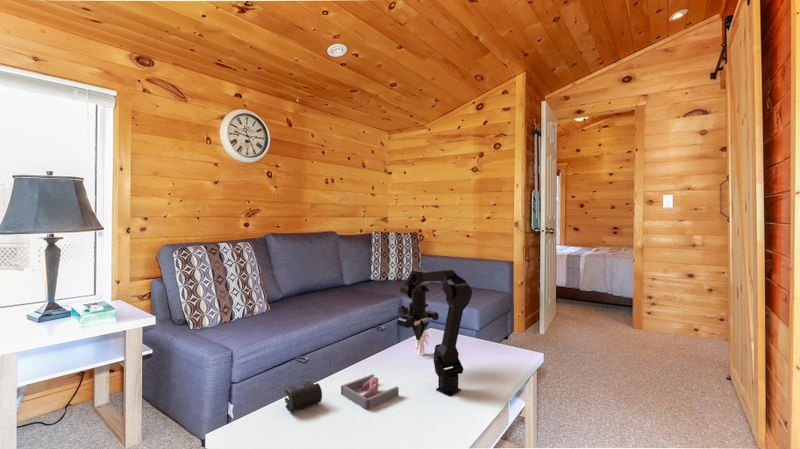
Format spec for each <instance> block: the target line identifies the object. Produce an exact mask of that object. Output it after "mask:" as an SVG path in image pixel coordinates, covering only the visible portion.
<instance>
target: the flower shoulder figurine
mask: <svg viewBox="0 0 800 449" xmlns="http://www.w3.org/2000/svg"><path fill="white" fill-rule="evenodd" d="M428 338H429V333H428V332H427V331H425V330H424V332H423V334H422V336H421V338H420V340H416V337H415V336H413V340H414V342H415V349H416V350H418V351H417V356H419V357H423V355H426V354H427V353H426V352H425V345H427V346H429V342H428Z"/></svg>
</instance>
